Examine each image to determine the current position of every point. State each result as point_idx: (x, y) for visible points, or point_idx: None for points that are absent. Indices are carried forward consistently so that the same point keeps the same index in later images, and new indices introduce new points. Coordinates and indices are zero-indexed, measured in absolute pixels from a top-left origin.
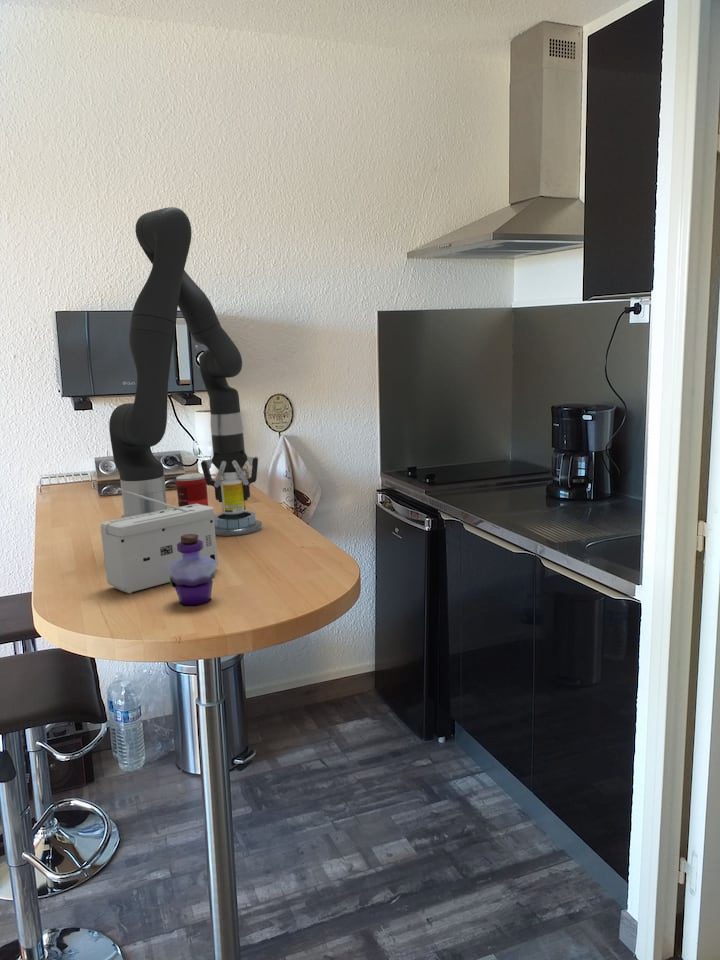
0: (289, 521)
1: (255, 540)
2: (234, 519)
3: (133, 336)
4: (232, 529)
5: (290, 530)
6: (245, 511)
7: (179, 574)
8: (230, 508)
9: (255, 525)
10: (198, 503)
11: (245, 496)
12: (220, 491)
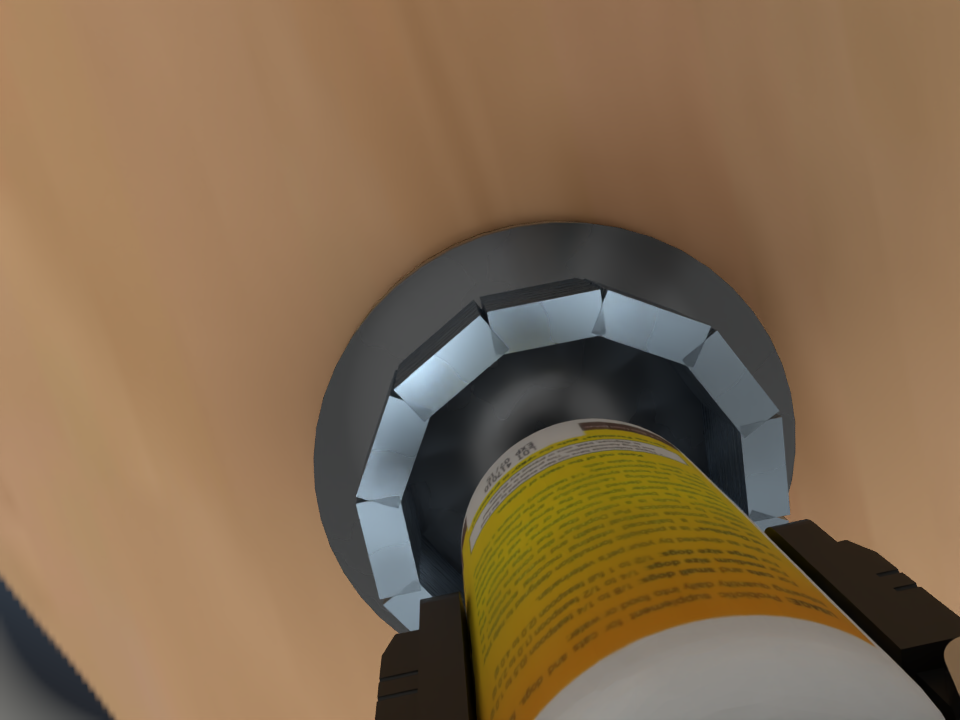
0: (151, 700)
1: (250, 44)
2: (529, 325)
3: None
4: (538, 286)
5: (27, 394)
6: None
7: None
8: (610, 435)
9: (357, 437)
10: None
11: (440, 621)
12: (854, 605)
